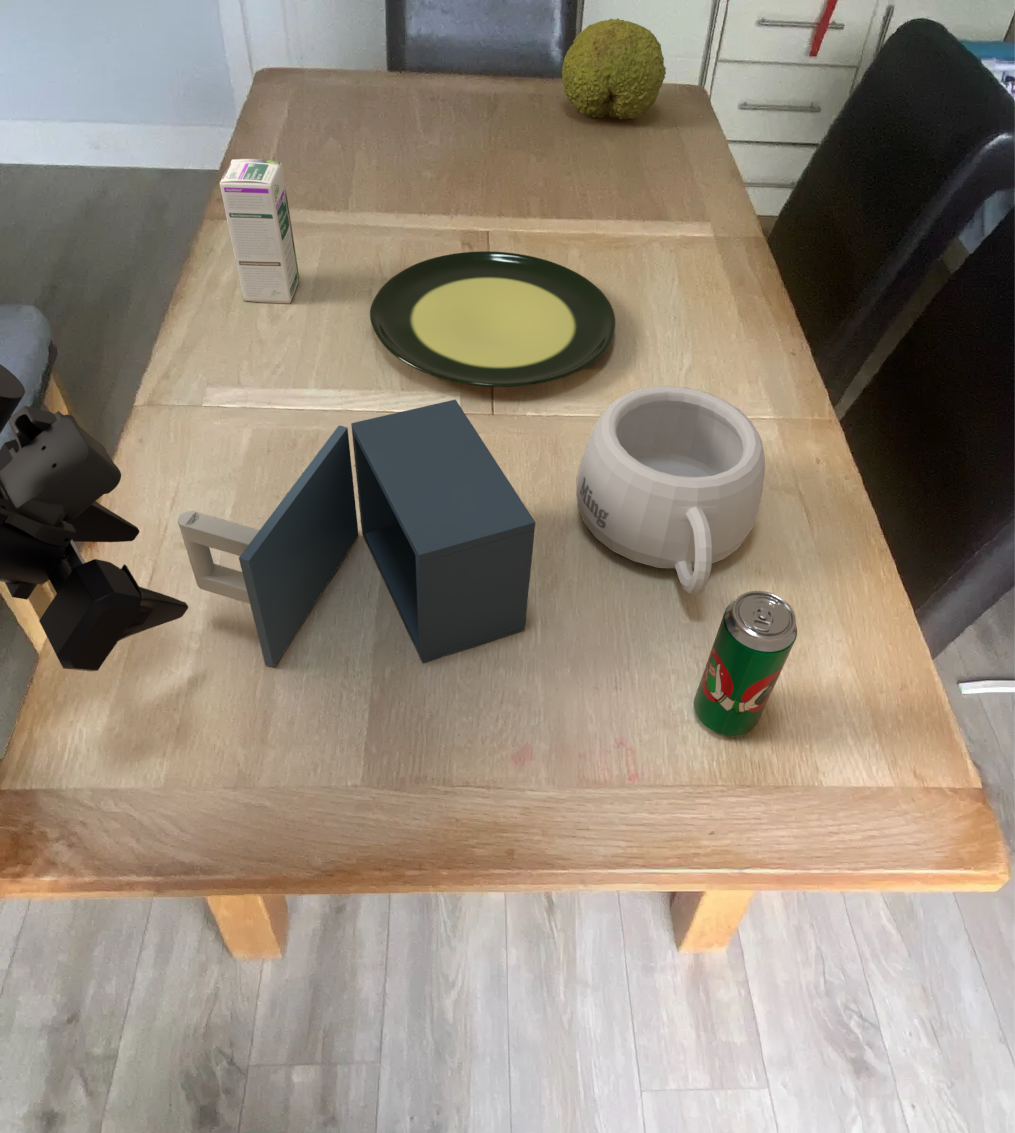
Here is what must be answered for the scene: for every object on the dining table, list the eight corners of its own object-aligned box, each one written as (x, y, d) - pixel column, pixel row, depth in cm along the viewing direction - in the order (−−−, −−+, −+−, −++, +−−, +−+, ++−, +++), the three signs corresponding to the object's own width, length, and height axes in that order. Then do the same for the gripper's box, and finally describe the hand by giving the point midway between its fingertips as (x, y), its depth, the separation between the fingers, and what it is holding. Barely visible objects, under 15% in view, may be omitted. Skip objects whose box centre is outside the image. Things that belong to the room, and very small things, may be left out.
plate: (662, 361, 102) (666, 342, 100) (444, 433, 92) (444, 413, 90) (531, 249, 118) (533, 231, 116) (332, 300, 107) (331, 281, 106)
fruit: (580, 139, 142) (554, 33, 136) (572, 138, 155) (548, 41, 149) (681, 104, 141) (659, -5, 134) (664, 106, 154) (643, 7, 147)
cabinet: (422, 663, 72) (418, 555, 63) (361, 533, 81) (350, 422, 72) (524, 630, 75) (535, 522, 66) (454, 508, 84) (455, 398, 75)
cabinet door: (194, 642, 72) (157, 534, 63) (287, 515, 82) (267, 406, 73) (274, 667, 71) (248, 560, 62) (358, 535, 81) (347, 427, 72)
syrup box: (291, 304, 106) (274, 182, 96) (241, 302, 106) (218, 179, 95) (300, 279, 110) (284, 159, 99) (251, 277, 110) (230, 156, 99)
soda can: (761, 697, 71) (805, 598, 63) (752, 749, 68) (797, 652, 59) (698, 678, 72) (733, 578, 64) (686, 728, 69) (721, 630, 60)
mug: (563, 457, 90) (573, 373, 83) (727, 455, 91) (751, 373, 84) (592, 625, 75) (607, 542, 68) (786, 620, 77) (822, 538, 70)
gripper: (59, 506, 48) (277, 564, 61) (-39, 337, 58) (167, 418, 70) (-42, 663, 50) (188, 687, 63) (-120, 475, 60) (94, 529, 73)
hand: (159, 571), depth 67 cm, fingers open, 9 cm apart
